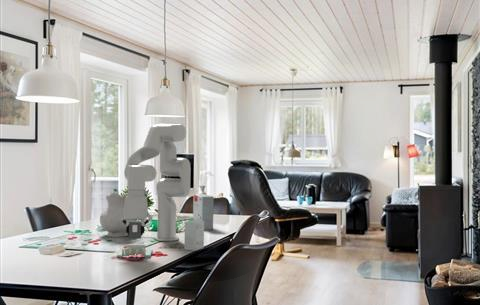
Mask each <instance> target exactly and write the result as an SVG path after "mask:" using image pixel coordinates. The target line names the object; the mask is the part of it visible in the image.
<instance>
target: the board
mask: <svg viewBox="0 0 480 305" xmlns="http://www.w3.org/2000/svg"><path fill="white" fill-rule="evenodd" d="M152 253H153V248H146V244H126V247H124V248H120V250H119V251H118V253H117V254H116V259H119V258H118V257H123V256H129V255H135V254H136V255H138V254H142V255H143V256H144V257H145V258H144V259H150V258H151V257H152Z"/></svg>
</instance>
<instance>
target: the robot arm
mask: <svg viewBox="0 0 480 305" xmlns="http://www.w3.org/2000/svg"><path fill="white" fill-rule="evenodd" d="M186 135H187V129H186V127H185V126H184V124H182V123H181V124H180V123H176V124H175V123H173V124H172V123H159V124H153V125H151V127H150V128H149V129H148V132H147V135H146V137H145V141H144V142H143V143H144V144H143V145H142V146H141V147H140V148H138V149H137V150H136V151H134V152H133V153H132V154H131V155H130V156H129V157H128V159H127V162H126V164H125V167H124V171H123V173H124V178H125V180H127V193H128V196H126V199H125V205H124V212H123V213H122V214H121V216H120V217H119V219H120V220H121V221H122V222H123V223H124V224H125V225H126V233H128V236H129V222H130V220H138V221H141V223H142V225H141V236H143V235H144V234H145V226H146V225H147V224H148V223H149V222H151V221H152V220H153V219H154V218H153V216H152V215H151V214H150V212H149V210H148V209H149V208H148V197H147V196H146V195H149V190H146V182H147V183H148V182H152V181H154V180H155V179H156V178H157V172H158V171H157V170H156V167H155V166H154V165H150V164H141V163H143V162H146V161H148V160H151V159H154V158H155V157H156V158H157V157H158V156H159V171H160V172H159V173H160V174H161V175H163V176H167V177H179V178H167V177H166V178H161V179H159V180H157V182H156V186H155V187H156V188H155V189H156V195H157V226H156V227H157V234H156V236H153V239H154V240H155V241H159V242H175V241H177V240H179V239H180V237H179V236H177V234H176V233H177V204H176V202H175V200H174V198H187V197H188V196H189V195H190V193H191V169H192V168H191V162H190V160H189V159H188V158H186V157H177V147H176V145H175V143H177V142H183V141H184V140H185V138H186V137H187V136H186ZM123 216H124V218H125V219H127V221H126V220H125V219H123Z"/></svg>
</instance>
